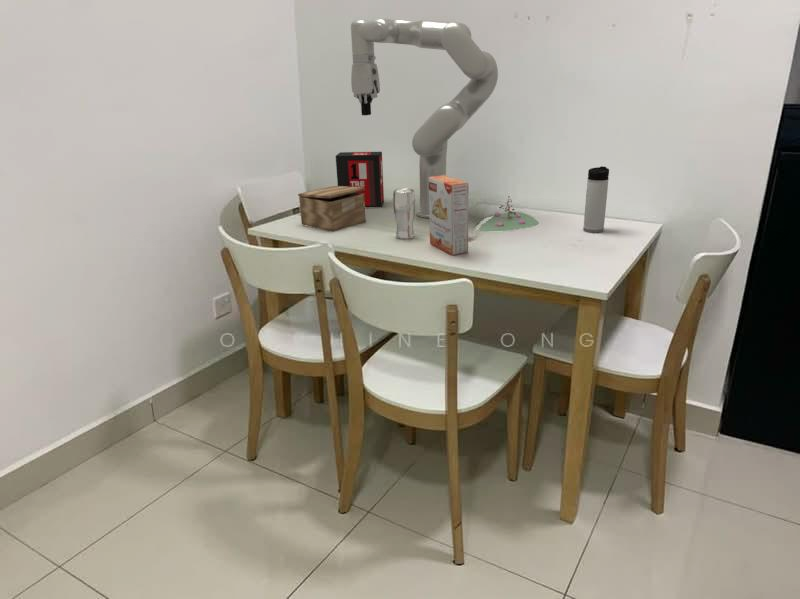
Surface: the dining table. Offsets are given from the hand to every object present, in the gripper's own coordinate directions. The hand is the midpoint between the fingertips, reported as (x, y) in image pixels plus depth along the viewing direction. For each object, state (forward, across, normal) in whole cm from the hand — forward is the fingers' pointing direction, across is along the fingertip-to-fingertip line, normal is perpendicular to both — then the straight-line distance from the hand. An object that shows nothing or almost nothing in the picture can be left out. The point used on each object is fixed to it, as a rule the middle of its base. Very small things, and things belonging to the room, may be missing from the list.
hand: (366, 114), depth 216 cm
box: (+35, -1, +20) cm, 40 cm away
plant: (+36, -50, -14) cm, 63 cm away
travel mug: (+35, -78, -23) cm, 89 cm away
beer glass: (+35, -33, +18) cm, 52 cm away
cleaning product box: (+35, +11, -6) cm, 37 cm away
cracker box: (+35, -52, +20) cm, 66 cm away
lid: (+24, -1, +20) cm, 31 cm away
